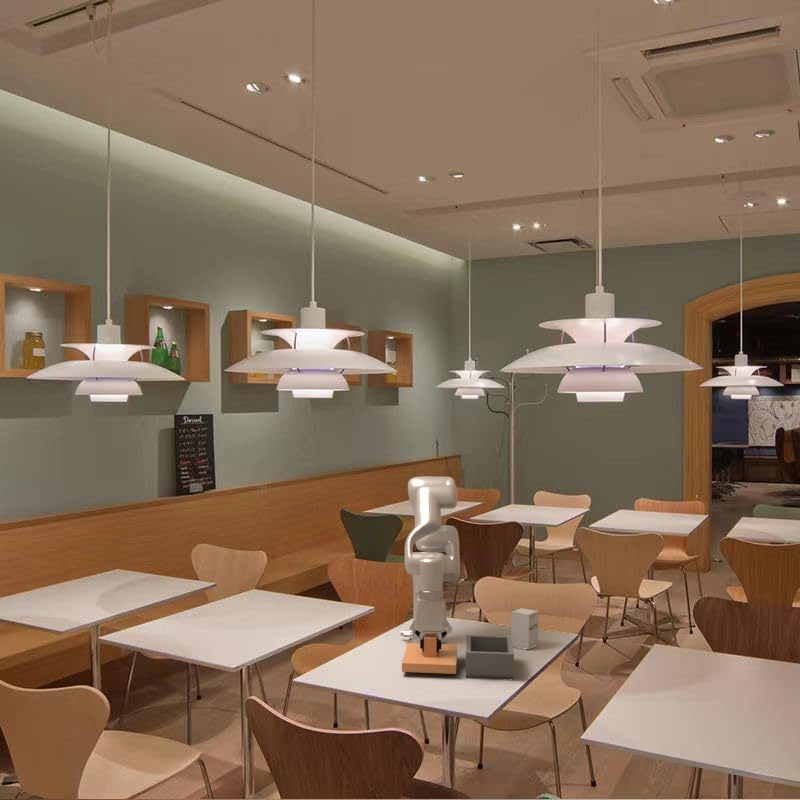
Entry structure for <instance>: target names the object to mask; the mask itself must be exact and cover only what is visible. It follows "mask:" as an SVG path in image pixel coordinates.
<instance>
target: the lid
mask: <svg viewBox="0 0 800 800" xmlns="http://www.w3.org/2000/svg"><path fill="white" fill-rule="evenodd" d="M437 635H438V634H437V632H425V636H424V652H422V649H420V643H409V642H407V644H406V646H405V651H404V654H403V658H402V661H401V672H402V673H403V672H404V673H424V674H425V673H426V674H427V673H429V674H449V675H450V674H453V675H456V674H457V662H458V644H449V643H447V644H446V643H445V644H444V643H443V644H441V649H439V653H438V652H437Z"/></svg>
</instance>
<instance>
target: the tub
mask: <svg viewBox="0 0 800 800" xmlns="http://www.w3.org/2000/svg"><path fill="white" fill-rule="evenodd" d="M465 638H466V639H465V679H480V680H484V679H485V680H502V679H507V680H508V681H510V680H509V679H512V680H511V681H514V680H515V678H514V677H515V676H514V675H515V653H514V647H513V645H512V639H511V635H510V636H507V635H504V636H503V635H479V634H477V635H475V634H466V637H465ZM513 679H514V680H513ZM507 680H506V681H507Z"/></svg>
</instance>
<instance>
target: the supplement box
mask: <svg viewBox="0 0 800 800" xmlns="http://www.w3.org/2000/svg"><path fill="white" fill-rule="evenodd" d="M510 613H511V614H510V636H511V639H512V645H513V646H514V647H513V648H515V647H519V648H518V649H520V648H526V649H529V650H531V649H532V648H531V647H533V646H535V645H537V644H538V645H539V610H536V609H535V610H534V609H529V608H523V607H520V608H518V609H515V610H512V611H510ZM535 647H536V646H535ZM530 648H531V649H530ZM533 648H534V647H533Z"/></svg>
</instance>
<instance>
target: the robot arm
mask: <svg viewBox="0 0 800 800" xmlns="http://www.w3.org/2000/svg"><path fill="white" fill-rule="evenodd" d="M407 494H408V499H409V502H410V504H411V506H412V507H411V508H412V510H413V514H414V528H413V529H412V530H411V531H410V532H409V534H408V536H407V537H406V540H405V542H404V543H405V544H404V568H405V571H406V573H407V574H409V575H411V576H412V585H413V586H412V587H413V589H412V590H413V592H412V593H413V595H412V596H413V601H412V603H413V604H412V605H413V612H412V613H413V614H412V615H413V616H412V617H413V618H412V619H413V620H412V623H411V625H410V626H409V628H408V629H409V630H407V629H401V630H400V636H403V637H404V638H408V643H420V649H422V652H424V636H425V632H437V634H438V635H437V652H438V653H439V649H441V644H444V642H445V641H444V638H445V637H446V636H447V635H449V633H451V632H453V627H452V625H451V624H450V622H449V621H448V620H447V619H448V618H447V605H446V599H444V597H443V596H444V594H443V593H444V582H455V581H457V580H459V578H460V574H461V559H460V558H461V556H460V538H459V531H458V529H457V528H456V527H455V526H453V525H447V524H445V525H442V510H448V509H450V510H452V509H455V508H457V505H458V498H459V497H458V488H457V485H456V481H455V479H454V478H453V477H451V476H433V475H431V476H430V475H425V476H415V477H412V478H410V479H409V480H408V482H407ZM414 544H415V546H416V548H417V550H418V551H415V552H414V551H413V548H414ZM444 553H445V554H444Z"/></svg>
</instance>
